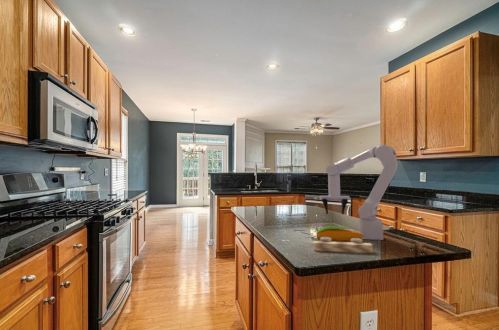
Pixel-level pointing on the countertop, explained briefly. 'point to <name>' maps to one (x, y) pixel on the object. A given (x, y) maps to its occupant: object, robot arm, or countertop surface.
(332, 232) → the corn
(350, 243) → the boss rack
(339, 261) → the countertop surface
